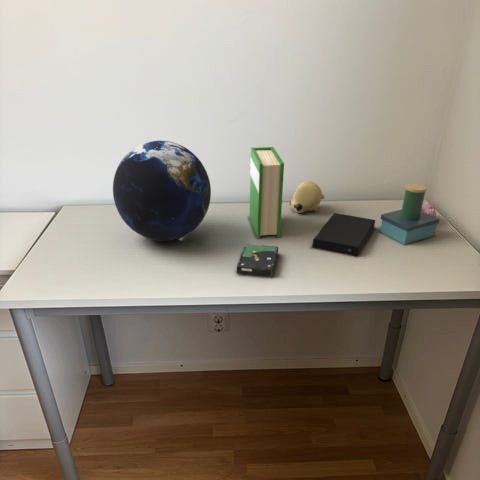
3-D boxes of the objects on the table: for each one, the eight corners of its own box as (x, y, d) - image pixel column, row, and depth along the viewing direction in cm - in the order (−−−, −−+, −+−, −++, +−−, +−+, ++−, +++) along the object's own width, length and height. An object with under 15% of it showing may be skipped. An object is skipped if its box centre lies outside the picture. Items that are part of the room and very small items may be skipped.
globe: (230, 234, 168) (230, 140, 152) (164, 267, 149) (155, 164, 132) (167, 211, 184) (160, 124, 167) (100, 238, 165) (84, 143, 148)
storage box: (408, 223, 177) (412, 206, 173) (435, 236, 168) (439, 218, 165) (378, 231, 171) (381, 214, 167) (404, 245, 162) (408, 227, 159)
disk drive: (272, 278, 144) (278, 254, 156) (273, 269, 143) (278, 245, 155) (236, 275, 146) (244, 251, 158) (236, 266, 144) (244, 243, 156)
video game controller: (427, 230, 175) (441, 213, 172) (417, 224, 174) (430, 207, 171) (419, 219, 184) (432, 202, 180) (409, 213, 182) (422, 196, 179)
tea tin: (409, 211, 170) (415, 182, 164) (424, 218, 165) (430, 188, 159) (396, 215, 167) (401, 185, 161) (410, 222, 162) (416, 191, 157)
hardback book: (279, 237, 167) (284, 163, 153) (257, 238, 166) (259, 164, 152) (270, 216, 181) (273, 147, 168) (249, 217, 180) (250, 147, 167)
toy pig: (299, 214, 192) (280, 198, 186) (321, 189, 189) (302, 171, 183) (309, 224, 184) (289, 207, 178) (332, 197, 181) (312, 179, 175)
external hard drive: (373, 228, 173) (375, 219, 171) (357, 256, 155) (358, 247, 154) (333, 221, 178) (334, 212, 176) (312, 247, 160) (313, 238, 159)
